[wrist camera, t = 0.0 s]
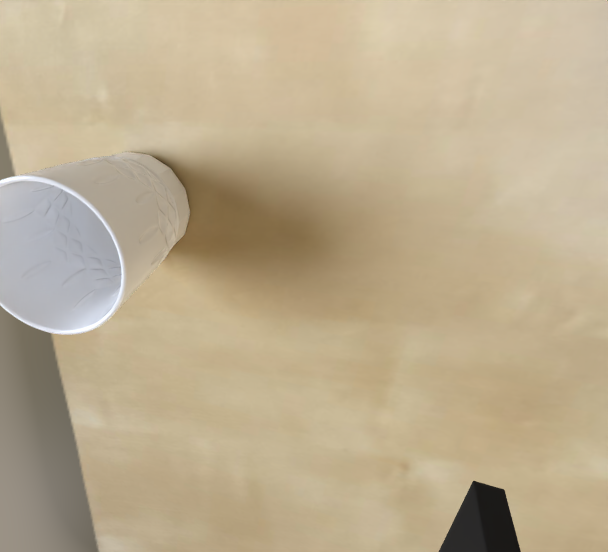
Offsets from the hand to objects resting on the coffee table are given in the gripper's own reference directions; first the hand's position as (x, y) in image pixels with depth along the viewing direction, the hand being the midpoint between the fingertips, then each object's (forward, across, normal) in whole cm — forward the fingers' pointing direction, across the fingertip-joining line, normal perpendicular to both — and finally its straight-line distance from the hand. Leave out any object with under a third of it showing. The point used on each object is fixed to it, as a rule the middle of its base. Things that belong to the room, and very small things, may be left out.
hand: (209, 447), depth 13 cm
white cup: (+20, -11, -2) cm, 23 cm away
